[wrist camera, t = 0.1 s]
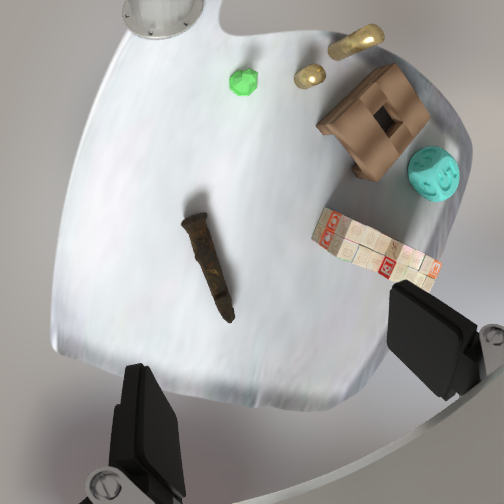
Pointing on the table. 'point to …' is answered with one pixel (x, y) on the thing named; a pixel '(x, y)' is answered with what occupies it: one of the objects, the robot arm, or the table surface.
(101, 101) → the table surface
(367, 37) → the tall pin
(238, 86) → the game piece
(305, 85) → the short pin
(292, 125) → the table surface
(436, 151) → the decorative dice
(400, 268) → the stack of blocks
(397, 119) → the bridge board
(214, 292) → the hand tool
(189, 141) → the table surface
